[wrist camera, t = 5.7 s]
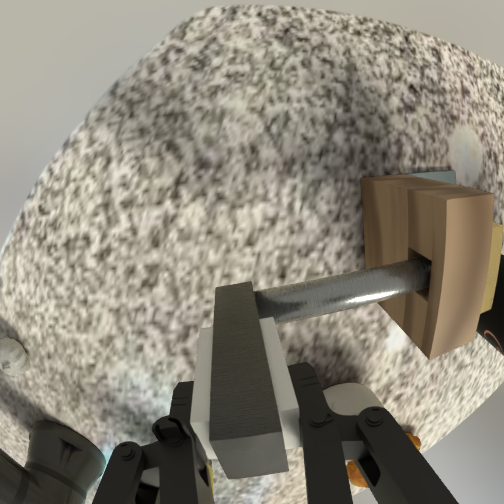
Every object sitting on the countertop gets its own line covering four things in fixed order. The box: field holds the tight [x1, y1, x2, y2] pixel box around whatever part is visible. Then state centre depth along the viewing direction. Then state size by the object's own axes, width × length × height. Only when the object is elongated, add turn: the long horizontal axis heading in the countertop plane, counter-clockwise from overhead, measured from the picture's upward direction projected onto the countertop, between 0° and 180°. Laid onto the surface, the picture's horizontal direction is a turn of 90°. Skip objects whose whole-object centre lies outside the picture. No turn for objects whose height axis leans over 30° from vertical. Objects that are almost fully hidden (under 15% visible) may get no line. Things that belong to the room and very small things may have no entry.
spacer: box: [480, 222, 504, 314], centre depth 20 cm, size 2×7×7 cm, turn 9°
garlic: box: [0, 337, 30, 376], centre depth 28 cm, size 6×5×5 cm
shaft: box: [209, 256, 432, 479], centre depth 15 cm, size 20×3×12 cm, turn 99°
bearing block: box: [360, 174, 494, 360], centre depth 23 cm, size 5×12×13 cm, turn 9°
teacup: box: [323, 383, 384, 466], centre depth 33 cm, size 14×11×8 cm
